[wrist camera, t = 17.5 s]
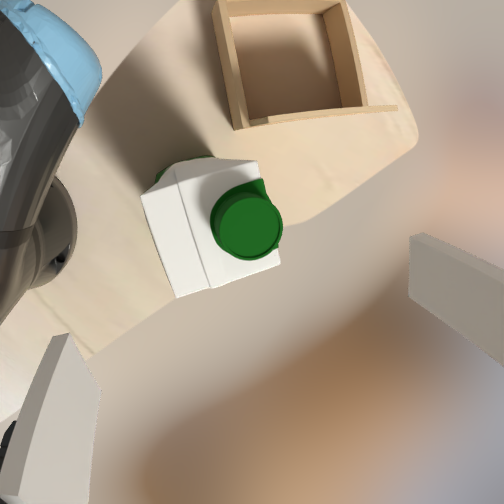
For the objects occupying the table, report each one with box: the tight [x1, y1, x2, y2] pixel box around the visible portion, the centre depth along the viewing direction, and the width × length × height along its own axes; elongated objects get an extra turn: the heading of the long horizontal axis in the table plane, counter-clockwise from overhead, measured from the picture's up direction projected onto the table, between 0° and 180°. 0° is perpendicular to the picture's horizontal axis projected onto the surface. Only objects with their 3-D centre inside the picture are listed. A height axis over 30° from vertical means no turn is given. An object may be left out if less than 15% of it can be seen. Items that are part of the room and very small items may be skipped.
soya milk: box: [140, 155, 283, 298], centre depth 28 cm, size 9×9×20 cm
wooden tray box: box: [211, 0, 398, 130], centre depth 30 cm, size 16×16×12 cm
